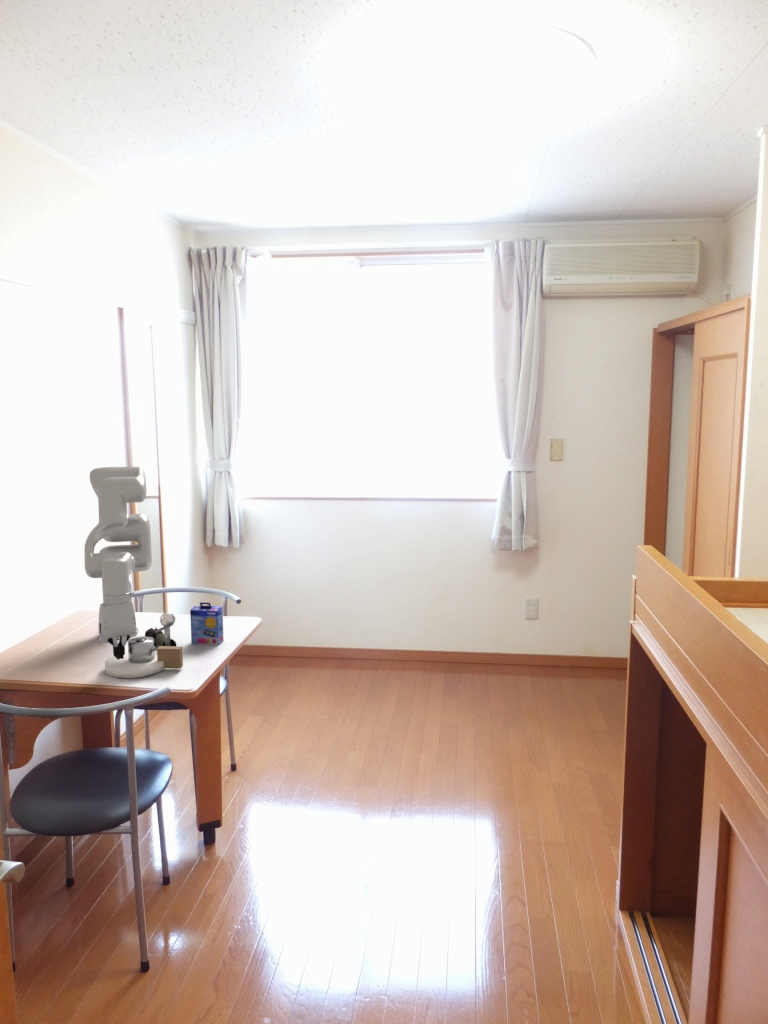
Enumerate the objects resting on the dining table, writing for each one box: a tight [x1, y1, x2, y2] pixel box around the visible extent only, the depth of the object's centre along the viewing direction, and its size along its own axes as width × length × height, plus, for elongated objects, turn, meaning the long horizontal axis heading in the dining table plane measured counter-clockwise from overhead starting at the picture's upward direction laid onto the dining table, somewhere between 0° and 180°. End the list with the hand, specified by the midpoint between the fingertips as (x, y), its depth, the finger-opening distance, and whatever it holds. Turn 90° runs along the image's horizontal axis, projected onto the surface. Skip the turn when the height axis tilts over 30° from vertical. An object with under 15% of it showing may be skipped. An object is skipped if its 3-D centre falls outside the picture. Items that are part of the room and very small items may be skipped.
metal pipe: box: [144, 627, 178, 647], centre depth 248 cm, size 18×7×6 cm, turn 34°
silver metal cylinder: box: [127, 635, 156, 664], centre depth 226 cm, size 8×8×6 cm
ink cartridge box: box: [189, 601, 225, 645], centre depth 251 cm, size 10×6×14 cm, turn 85°
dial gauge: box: [154, 612, 176, 646], centre depth 238 cm, size 5×8×14 cm
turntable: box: [104, 645, 184, 679], centre depth 226 cm, size 23×18×6 cm
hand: (119, 657), depth 223 cm, fingers closed
